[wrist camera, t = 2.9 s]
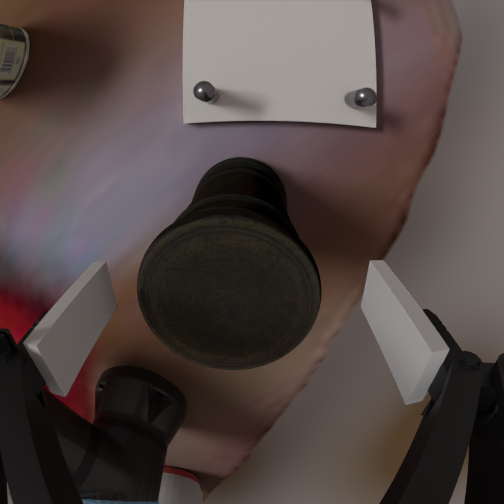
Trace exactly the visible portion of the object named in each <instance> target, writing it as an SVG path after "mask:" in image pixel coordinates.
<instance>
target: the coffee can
mask: <svg viewBox="0 0 504 504" xmlns="http://www.w3.org/2000/svg"><path fill="white" fill-rule="evenodd" d="M29 50H30V42H29V36H28V34H27V32H26V31H25V30H24V29H23V28H20V27H13V26H8V25H3V24H0V99H2V98H4V97H6V96H7V95H8V94H9V93H10V92H11V91H12V90H13V89H14V88H15V86H16V85H17V83H18V82H19V80H20V78H21V76H22V74H23V72H24V69H25V67H26V64H27V61H28V57H29Z"/></svg>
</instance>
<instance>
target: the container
mask: <svg viewBox="0 0 504 504" xmlns="http://www.w3.org/2000/svg"><path fill="white" fill-rule="evenodd" d="M137 294H138V301H139V306H140V309H141V312H142V314H143V317H144V319H145V321H146V323H147V324H148V326H149V327H150V329H151V330H152V332H153V333H154V334H155V335H156V337H157V338H158V339H159V340H160V341H161V342H162V343H163V344H164V345H166V346H167V347H168V348H169V349H171V350H172V351H173V352H175V353H176V354H178V355H180V356H181V357H183V358H185V359H187V360H189V361H191V362H194V363H196V364H199V365H202V366H206V367H210V368H215V369H223V370H243V369H251V368H256V367H260V366H263V365H266V364H269V363H271V362H274V361H276V360H278V359H280V358H282V357H283V356H285V355H286V354H288V353H289V352H291V351H292V350H293V349H294V348H296V347H297V346H298V345H299V344H300V343H301V342H302V341H303V339H304V338H305V337H306V336H307V334H308V333H309V331H310V330H311V328H312V326H313V324H314V322H315V320H316V318H317V315H318V312H319V308H320V303H321V280H320V275H319V271H318V268H317V265H316V263H315V261H314V258H313V256H312V255H311V253H310V251H309V250H308V249H307V247H306V246H305V245H304V243H303V242H302V241H301V240H300V239H299V237H298V234H297V232H296V230H295V228H294V227H293V225H292V224H291V221H290V219H289V216H288V214H287V200H286V193H285V189H284V186H283V184H282V182H281V180H280V178H279V177H278V175H277V174H276V173H275V172H274V171H273V170H272V169H271V168H270V167H268V166H267V165H265V164H264V163H262V162H260V161H257V160H254V159H250V158H244V157H238V158H231V159H227V160H224V161H222V162H219V163H218V164H216V165H214V166H213V167H212V168H210V169H209V170H208V171H207V172H206V173H205V175H204V176H203V177H202V179H201V180H200V182H199V184H198V187H197V189H196V191H195V194H194V197H193V200H192V203H191V204H190V205H189V206H188V208H187V209H186V210H185V211H184V212H182V213H181V215H180V216H179V217H178V218H177V219H176V220H175V222H174V223H173V224H171V225H170V226H168V227H167V228H166V229H165V230H163V231H162V232H161V233H160V234H159V235H158V236H157V237H156V239H155V240H154V241H153V242H152V244H151V245H150V246H149V248H148V250H147V251H146V253H145V255H144V257H143V260H142V262H141V265H140V269H139V273H138V280H137Z"/></svg>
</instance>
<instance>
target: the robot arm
mask: <svg viewBox="0 0 504 504" xmlns="http://www.w3.org/2000/svg"><path fill="white" fill-rule="evenodd" d="M117 307H118V306H117V303H116V299H115V295H114V292H113V288H112V284H111V280H110V276H109V272H108V267H107V263H106V262H99V261H94V262H93V263H92V264H91V265H90V266H89V267H88V268H87V269H86V270H85V271H84V272H83V274H82V275H81V276H80V277H79V278H78V279H77V280H76V281H75V282H74V283H73V284H72V285H71V287H70V288H69V289H68V290H67V291H66V292H65V293H64V294H63V295H62V297H61V298H60V299H59V300H58V301H57V302H56V303H55V305H54V306H53V307H52V308H50V309H49V310H47V311H46V312H44V313H43V314H42V315H41V316H40V317H39V318H38V319H37V321H36V322H35V323H34V324H33V325H32V328H30V329H29V330H28V331H27V333H26V334H25V335H24V336H23V338H22V339H21V340H20V341H19V343H18V344H16V342H15V340H14V338H13V336H12V334H11V332H10V331H9V330H8V329H0V504H159V502H158V499H159V493H160V487H161V481H162V475H163V469H164V464H165V458H166V453H167V448H168V445H169V444H170V442H171V441H172V439H173V437H174V436H175V434H176V433H177V431H178V430H179V428H180V427H181V425H182V424H183V422H184V419H185V415H186V409H187V404H186V401H185V398H184V397H183V395H182V394H181V392H180V391H179V390H178V389H177V388H176V387H175V386H173V385H172V384H171V383H170V382H168V381H167V380H165V379H163V378H162V377H160V376H158V375H156V374H153V373H151V372H148V371H146V370H142V369H139V368H134V367H126V366H119V367H113V368H109V369H107V370H106V371H104V372H103V373H102V375H101V376H100V379H99V381H98V383H97V385H96V390H95V418H94V421H93V423H92V424H91V423H90V422H88V421H87V420H86V419H84V418H83V417H81V416H80V415H79V414H77V413H76V412H74V411H73V410H72V409H70V408H69V407H68V406H66V405H65V404H64V403H63V402H61V401H60V400H59V399H57V398H56V397H55V396H54V395H52V394H51V393H50V392H49V391H48V390H46V389H45V388H44V386H45V384H47V386H48V388H49V389H50V391H51V392H52V393H54V394H57V395H61V396H64V397H66V395H67V393H68V391H69V389H70V387H71V386H72V384H73V382H74V380H75V378H76V376H77V374H78V373H79V371H80V369H81V367H82V365H83V364H84V362H85V360H86V358H87V357H88V355H89V353H90V351H91V350H92V348H93V346H94V344H95V343H96V341H97V339H98V338H99V336H100V334H101V333H102V331H103V329H104V328H105V326H106V324H107V323H108V321H109V319H110V318H111V316H112V315H113V313H114V311H115V310H116V308H117ZM361 309H362V311H363V313H364V315H365V317H366V319H367V321H368V323H369V325H370V327H371V329H372V331H373V333H374V335H375V337H376V340H377V342H378V344H379V346H380V348H381V350H382V352H383V354H384V357H385V359H386V361H387V363H388V365H389V367H390V370H391V372H392V374H393V377H394V379H395V381H396V383H397V386H398V388H399V390H400V393H401V395H402V397H403V400H404V402H405V404H411V403H415V402H420V401H422V400H423V398H424V397H425V395H426V393H427V392H429V394H430V396H431V400H430V401H429V403H428V404H427V406H426V408H425V409H424V411H423V412H422V414H421V415H424V416H423V418H422V421H421V423H420V425H419V428H418V430H417V432H416V435H415V437H414V439H413V442H412V444H411V446H410V448H409V450H408V453H407V455H406V457H405V458H404V461H403V462H402V464H401V466H400V468H399V471H398V472H397V474H396V476H395V478H394V480H393V481H392V483H391V485H390V487H389V489H388V490H387V492H386V494H385V495H384V497H383V499H382V500H381V502H380V504H448V503H449V501H450V498H451V496H452V494H453V491H454V488H455V486H456V483H457V480H458V477H459V475H460V472H461V469H462V465H463V462H464V459H465V456H466V452H467V449H468V445H469V463H468V476H467V487H466V494H465V503H464V504H504V353H503V354H501V355H500V356H499V357H498V359H497V361H496V363H482V361H481V359H480V358H479V357H478V356H477V355H476V354H474V353H471V352H468V351H462V350H461V348H460V347H459V346H458V344H457V343H456V341H455V340H454V339H453V337H452V336H451V334H450V333H449V332H448V331H447V330H446V328H445V326H444V325H442V322H441V321H440V320H439V319H438V317H437V316H436V315H435V314H434V313H432V312H431V311H430V310H428V309H423V310H422V309H421V308H420V306H419V305H418V304H417V302H416V301H415V300H414V298H413V297H412V296H411V294H410V293H409V292H408V291H407V289H406V288H405V287H404V285H403V284H402V283H401V282H400V280H399V279H398V278H397V276H396V275H395V274H394V273H393V271H392V270H391V269H390V268H389V266H388V265H387V264H386V263H385V262H384V260H370V262H369V267H368V273H367V278H366V283H365V288H364V293H363V298H362V303H361Z"/></svg>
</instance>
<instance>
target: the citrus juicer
mask: <svg viewBox="0 0 504 504" xmlns="http://www.w3.org/2000/svg"><path fill="white" fill-rule="evenodd" d="M158 502H159V504H202V492H201V488H200V483H199V481H198V478H197V477H196V476H195V475H194V474H192V473H190V472H187V471H184V470H181V469H177V468H172V467H170V466H165V467H164V469H163V475H162V481H161V487H160V493H159V499H158Z"/></svg>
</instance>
